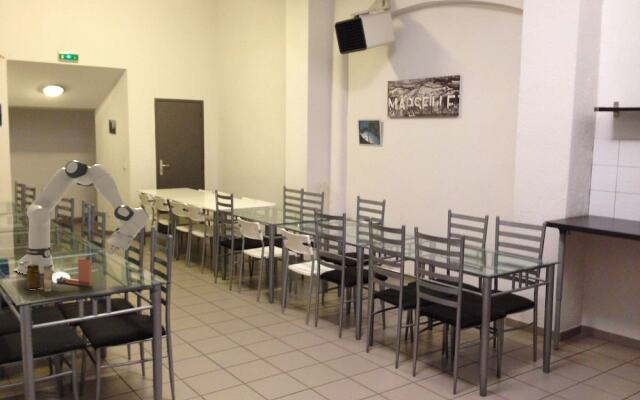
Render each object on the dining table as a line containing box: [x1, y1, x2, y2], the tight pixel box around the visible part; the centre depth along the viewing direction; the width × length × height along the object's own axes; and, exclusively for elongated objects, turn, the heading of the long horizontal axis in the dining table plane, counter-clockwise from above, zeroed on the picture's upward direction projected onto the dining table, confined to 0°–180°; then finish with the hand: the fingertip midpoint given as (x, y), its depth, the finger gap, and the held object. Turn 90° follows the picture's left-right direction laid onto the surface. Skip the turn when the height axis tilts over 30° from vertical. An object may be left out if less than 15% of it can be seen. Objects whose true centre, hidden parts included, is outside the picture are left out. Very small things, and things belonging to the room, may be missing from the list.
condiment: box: [26, 264, 45, 290], centre depth 294 cm, size 7×8×12 cm
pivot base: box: [56, 275, 68, 285], centre depth 307 cm, size 5×5×3 cm
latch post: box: [43, 264, 54, 292], centre depth 291 cm, size 4×4×13 cm
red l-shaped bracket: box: [64, 255, 93, 287], centre depth 303 cm, size 16×2×16 cm, turn 71°
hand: (109, 253), depth 308 cm, fingers closed
